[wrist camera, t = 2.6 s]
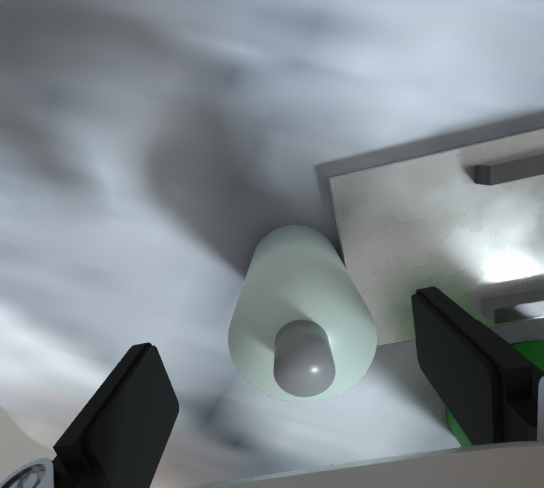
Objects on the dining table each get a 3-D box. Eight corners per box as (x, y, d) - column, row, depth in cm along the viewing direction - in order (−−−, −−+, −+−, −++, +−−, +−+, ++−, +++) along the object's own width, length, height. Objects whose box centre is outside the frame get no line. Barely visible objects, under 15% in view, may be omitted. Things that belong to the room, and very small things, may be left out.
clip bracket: (719, 86, 15) (792, 74, 13) (686, 282, 18) (741, 299, 16) (327, 177, 17) (333, 180, 15) (356, 339, 20) (365, 360, 18)
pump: (330, 216, 17) (379, 278, 8) (344, 297, 19) (400, 425, 10) (242, 235, 18) (198, 312, 9) (263, 312, 19) (243, 447, 10)
